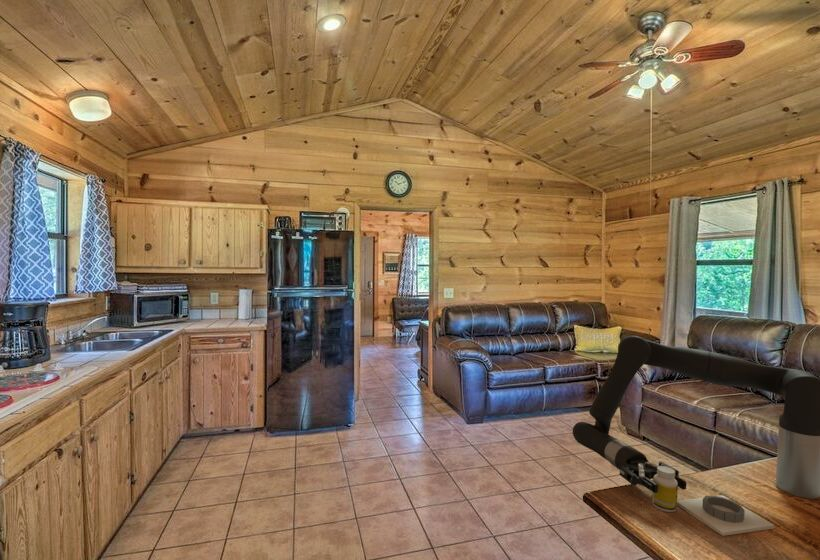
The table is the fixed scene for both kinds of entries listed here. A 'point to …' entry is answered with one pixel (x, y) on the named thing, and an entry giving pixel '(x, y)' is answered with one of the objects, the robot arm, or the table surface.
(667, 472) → the supplement bottle
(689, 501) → the socket plate
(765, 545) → the table surface
